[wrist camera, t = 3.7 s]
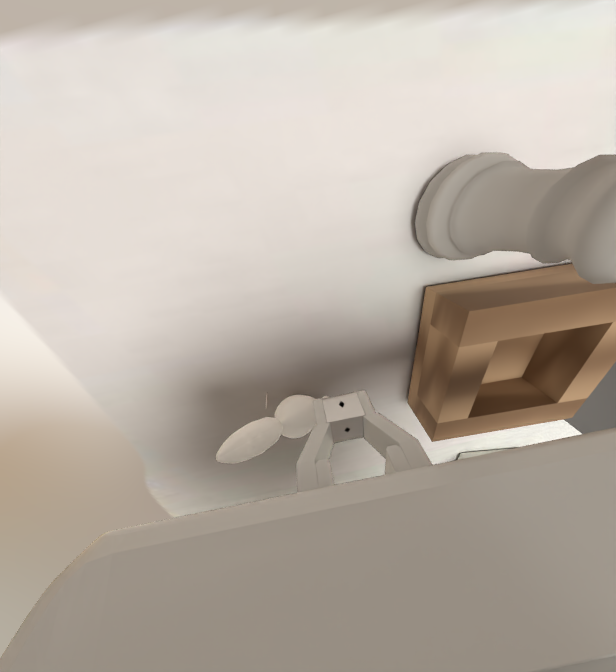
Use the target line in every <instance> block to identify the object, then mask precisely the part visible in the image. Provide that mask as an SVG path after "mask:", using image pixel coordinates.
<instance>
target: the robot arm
mask: <svg viewBox="0 0 616 672" xmlns="http://www.w3.org/2000/svg"><path fill="white" fill-rule="evenodd" d="M313 406H314V412H315V418H316V424H317V425H316V426H314V427H313V429H312V431H311V434H310V436H309V438H308V440H307V442H306V444H305V446H304V448H303V450H302V452H301V455H300V457H299V459H298V461H297V463H296V473H297V491H298V493H293V494H288V495H283V496H278V497H274V498H269V499H264V500H259V501H254V502H249V503H244V504H239V505H235V506H230V507H225V508H220V509H215V510H210V511H205V512H200V513H195V514H190V515H185V516H181V517H176V518H171V519H166V520H161V521H156V522H151V523H146V524H141V525H137V526H131V527H126V528H121V529H116V530H112V531H109V532H106V533H104V534H102V535H101V536H100V537H98V538H97V539H96V540H95V541H94V542H93V543H92V544H90V545H89V546H88V547H87V548H86V549H85V550H84V551H83V552H82V553H81V554H80V555H79V556H78V557H77V558H76V559H75V560H74V561H73V562H72V563H71V564H70V565H69V566H68V567H67V568H66V569H65V570H64V571H63V572H62V573H60V575H58V577H57V578H56V579H55V580H54V581H53V582H52V583H51V584H50V585H49V587H48V588H47V589H46V590H45V592H44V593H43V594H42V596H41V597H40V599H39V600H38V601H37V603H36V604H35V606H34V607H33V608H32V610H31V611H30V613H29V614H28V616H27V617H26V619H25V620H24V622H23V623H22V625H21V626H20V628H19V629H18V631H17V633H16V634H15V636H14V637H13V639H12V640H11V642H10V644H9V645H8V647H7V648H6V650H5V651H4V653H3V655H2V656H1V658H0V672H616V428H611V429H606V430H601V431H596V432H591V433H587V434H582V435H577V436H572V437H567V438H562V439H557V440H552V441H547V442H543V443H538V444H533V445H528V446H523V447H518V448H513V449H508V450H503V451H499V452H494V453H489V454H484V455H479V456H474V457H469V458H464V459H460V460H455V461H450V462H445V463H440V464H435V465H432V463H431V462H430V460H429V458H428V456H427V455H426V453H425V451H424V450H423V448H422V446H421V444H420V443H419V441H418V440H417V439H416V438H414V437H413V436H412V435H410V434H409V433H407V432H406V431H404V430H403V429H401V428H400V427H398V426H397V425H396V424H394V423H393V422H391V421H390V420H388V419H387V418H385V417H384V416H382V415H381V414H380V413H376V412H375V410H374V408H373V406H372V404H371V401H370V399H369V397H368V395H367V393H366V391H365V390H361V391H356V392H351V393H346V394H342V395H338V396H333V397H327V398H322V399H316V400H313ZM362 437H364V439H365V440H366V441H368V442H369V443H370V444H371V445H372V446H373V447H374V448H375V449H376V450H377V451H378V452H379V453H380V454H381V455H382V456H383V457H384V458H385V459H386V462H385V475H381V476H376V477H371V478H366V479H362V480H357V481H352V482H347V483H342V484H337V485H334V480H333V475H332V470H331V465H330V461H329V458H330V455H331V451H332V448H333V445H334V444H333V443H337V442H342V441H346V440H351V439H357V438H362Z"/></svg>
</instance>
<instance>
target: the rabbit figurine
mask: <svg viewBox="0 0 616 672" xmlns="http://www.w3.org/2000/svg"><path fill="white" fill-rule="evenodd" d="M327 397H328V396H324V397H322V398H327ZM322 398H318V399H322ZM313 400H316V399H315V398H313V397H310V396H307V395H293V396H290V397H287V398H286V399H284V400H283V401H282V402H281V403H280V404H279V406H278V407H277V409H276V411H275V415H274V418H272V417H264V418H262V419H259V420H255V421H252V422H250V423H248V424H246V425H245V426H244V427H242V428H240V429H239V430H237V431H236V432H234V433H233V434H231V435H230V436H229V437H228V439H227V440H226V441H225V442H224V443H223V444H222V446H221V447H220V449H219V450H218V452H217V454H216V458H215V459H216V461H218V462H219V463H226V464H233V463H241V462H244V461H247V460H249V459H251V458H253V457H255V456H258V455H260V454H262V453H263V452H265V451H266V450H267V449H268V448H269V447H271V446H272V445H273V444H275V443H276V442H277V441H278V439H279V437H280V435H281V434H282V435H283V436H285V437H288V438H301V437H303V436H305V435H306V434H308V433H309V432H310V431H311V430H312V429H313V427H314V426H315V424H316V418H315V412H314V406H313ZM266 408H267V394H266Z"/></svg>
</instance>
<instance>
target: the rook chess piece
mask: <svg viewBox="0 0 616 672" xmlns="http://www.w3.org/2000/svg"><path fill="white" fill-rule="evenodd" d="M415 228H416V234H417V240H418V242H419V243H420V245H421V246H422V248H423V249H424V251H425V252H426V253H428V254H430V255H433V256H435V257H437V258H446V259H448V260H464V259H472V258H474V257H476V256H479V255H485V254H487V253H489V252H492V251H518V252H524V253H529V254H531V256H532V258H534V259H536V260H538V261H539V262H541V263H559V262H561V261H564V260H566V259H569V260H571V262H572V264H573V266H574V268H575V270H576V271H577V273H578V275H579V276H580V277H581V278H583V279H585V280H587V281H588V282H590V283H592V284H604V283H616V155H598V156H596V157H594V158H592V159H590V160H587V161H585V162H583V163H581V164H579V165H577V166H575V167H574V168H566V169H559V170H550V169H530V168H529V167H527V166H526V165H524V164H523V163H522V162H520V161H517V160H516V159H514V158H513V157H512V156H510V155H509V154H506V153H480V154H478V155H465V156H463V157H461V158H459V159H457V160H455V161H453V162H451V163H449V164H447V165H446V166H445V167H444V168H443V169H442V170H441V171H440V172H439V173H438V174H437V175H436V176H435V177H434V178H433V179H432V180H431V181H430V183H429V185H428V187H427V189H426V190H425V192H424V194H423V196H422V198H421V200H420V202H419V205H418V210H417V215H416V219H415Z"/></svg>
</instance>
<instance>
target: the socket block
mask: <svg viewBox="0 0 616 672" xmlns="http://www.w3.org/2000/svg"><path fill="white" fill-rule="evenodd" d="M615 362H616V283H604V284H592V283H590V282H588V281H587V280H585V279H583V278H581V277H580V276H579V275H578V273H577V271H576V270H575V268H574V266H573V264H567V265H560V266H554V267H548V268H542V269H535V270H529V271H523V272H516V273H510V274H504V275H498V276H491V277H485V278H479V279H473V280H466V281H460V282H454V283H448V284H441V285H435V286H429V287H426V290H425V297H424V303H423V309H422V315H421V322H420V328H419V334H418V340H417V347H416V353H415V359H414V365H413V372H412V378H411V384H410V390H409V397H408V404H409V406H410V407H411V409H412V411H413V412H414V414H415V415H416V417H417V418H418V420H419V422H420V423H421V425H422V426H423V428H424V430H425V431H426V433H427V434H428V436H429V437H430V439H431V441H432V442H433V441H439V440H445V439H451V438H457V437H463V436H469V435H475V434H480V433H486V432H492V431H498V430H504V429H510V428H516V427H521V426H527V425H533V424H539V423H545V422H551V421H557V420H563V419H568V418H572V417H573V416H574V415H575V413H576V412H577V411H578V410H579V408H580V407H581V406H582V404H583V403H584V402H585V400H586V399H587V398H588V397H589V395H590V394H591V393H592V391H593V390H594V389H595V388H596V386H597V385H598V384H599V382H600V381H601V380H602V379H603V377H604V376H605V375H606V373H607V372H608V371H609V370H610V368H611V367H612V366H613V364H614V363H615Z"/></svg>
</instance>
